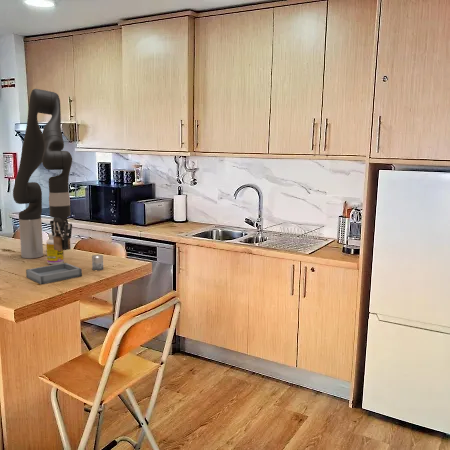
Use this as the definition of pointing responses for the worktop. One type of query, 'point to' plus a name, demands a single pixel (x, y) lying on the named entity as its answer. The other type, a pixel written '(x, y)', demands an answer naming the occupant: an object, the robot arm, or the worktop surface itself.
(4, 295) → the worktop surface
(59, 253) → the supplement bottle
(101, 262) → the grey rounded cylinder
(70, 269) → the parts tray
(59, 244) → the walnut block
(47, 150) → the robot arm
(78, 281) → the worktop surface
